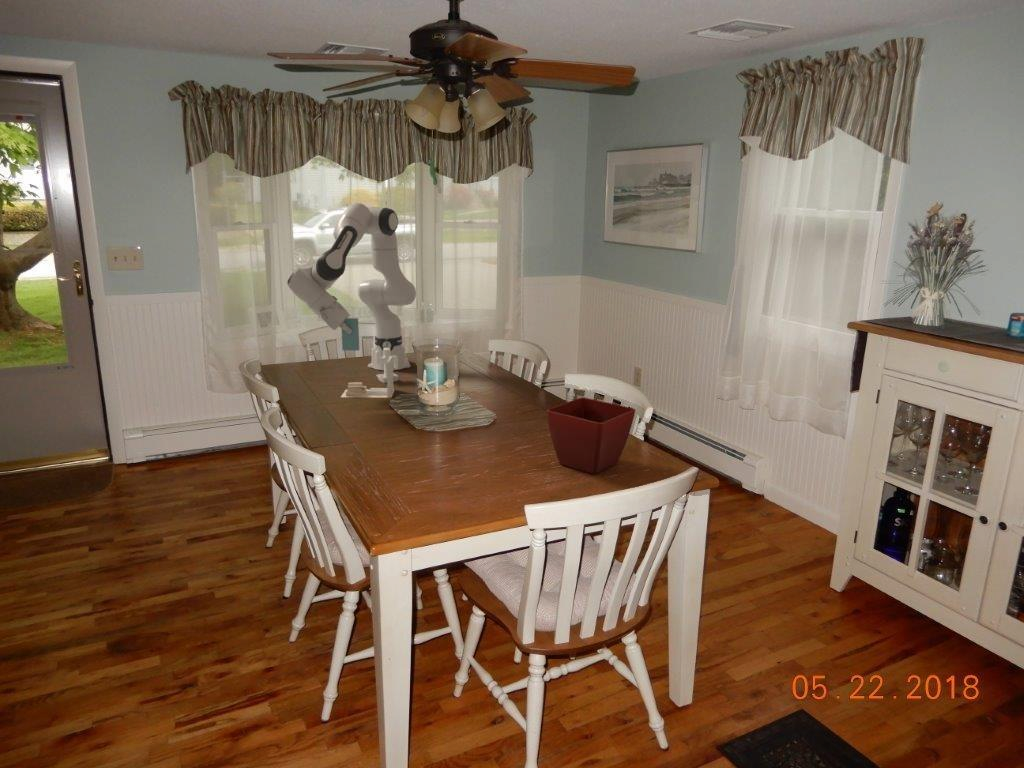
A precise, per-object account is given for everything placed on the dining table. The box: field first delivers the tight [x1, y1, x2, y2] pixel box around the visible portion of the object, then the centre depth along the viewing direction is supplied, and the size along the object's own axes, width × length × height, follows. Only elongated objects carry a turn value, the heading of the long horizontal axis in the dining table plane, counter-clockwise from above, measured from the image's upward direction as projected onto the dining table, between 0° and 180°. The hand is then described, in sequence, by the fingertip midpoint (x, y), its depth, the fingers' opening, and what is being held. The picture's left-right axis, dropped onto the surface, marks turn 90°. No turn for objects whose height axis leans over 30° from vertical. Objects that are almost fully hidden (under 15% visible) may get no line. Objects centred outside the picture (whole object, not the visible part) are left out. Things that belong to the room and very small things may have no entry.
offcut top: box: [347, 381, 363, 392], centre depth 272 cm, size 6×5×2 cm
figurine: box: [375, 348, 400, 384], centre depth 291 cm, size 7×9×15 cm
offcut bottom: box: [345, 385, 368, 396], centre depth 273 cm, size 8×6×2 cm
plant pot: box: [546, 397, 636, 475], centre depth 209 cm, size 19×19×17 cm
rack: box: [340, 356, 395, 399], centre depth 272 cm, size 11×19×15 cm, turn 92°
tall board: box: [341, 317, 360, 351], centre depth 268 cm, size 2×6×12 cm, turn 92°
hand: (351, 331), depth 268 cm, fingers closed on tall board, 2 cm apart
